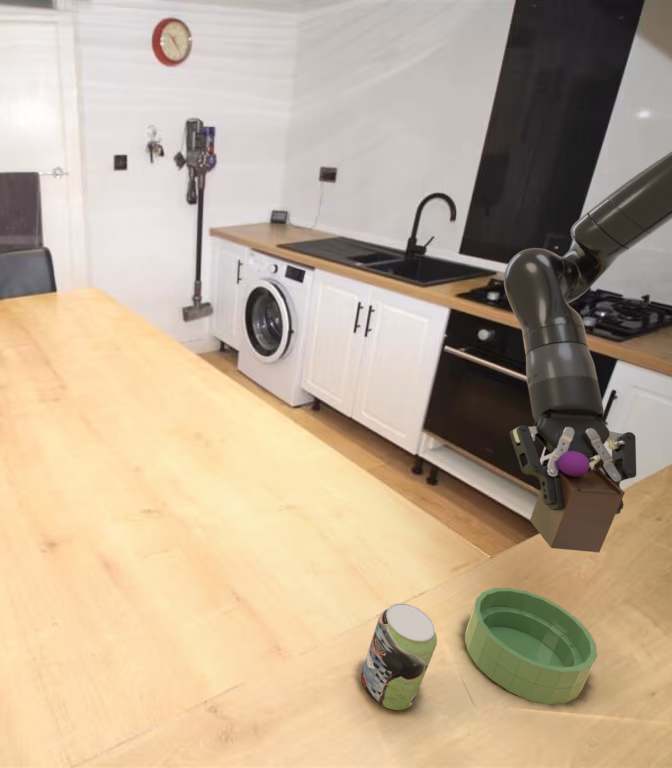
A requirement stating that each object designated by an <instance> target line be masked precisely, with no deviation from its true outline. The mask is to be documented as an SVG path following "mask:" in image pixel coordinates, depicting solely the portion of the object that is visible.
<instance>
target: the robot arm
mask: <svg viewBox="0 0 672 768" xmlns="http://www.w3.org/2000/svg"><path fill="white" fill-rule="evenodd" d="M671 220H672V151H670V152H669V153H667V154H666V155H665V156H663V157H661V158H660V159H658V160H656V161H655V162H653V163H652V164H651V165H649V166H647V167H645V169H643V170H642V171H640V172H638V174H636V175H634V176H633V177H632V178H630V179H629V180H627V181H626V182H624V183H623V184H622V185H621V186H619V187H617V189H615V190H614V191H613V192H611V193H610V194H609V195H607V196H606V197H605V198H604V199H602V200H601V201H600V202H599V203H597V204H595V206H593V207H592V208H591V209H589V210H588V212H586V213H585V214H583V215H582V216H581V217H580V218H578V220H577V221H575V222H574V223H573V225H572V226H571V228H570V236H571V239H572V240H573V242H574V244H573V245H572V246H571V248H570V249H569V250H568V251H567V252H566V253H565V254H563V256H560V255H559V254H557V253H555V252H553V251H550V250H548V249H546V248H541V247H529V248H525V249H523V250H521V251H519V252H518V253H516V254H515V255H514V256H512V258H511V259H510V260H509V262H508V263H507V266H506V267H505V271H504V275H503V287H504V291H505V295H506V297H507V300H508V302H509V306H510V307H511V310H512V312H513V314H514V317H515V319H516V321H517V322H518V324H519V327H520V328H521V332H522V342H523V347H524V353H525V362H526V363H525V376H526V384H527V389H528V395H529V403H530V408H531V415H532V419H533V420H534V424H533V426H528V425H526V424H521V425H519V426H517V427H515V428H514V429H512V430H510V432H509V436H510V440H511V442H512V445H513V449H514V452H515V455H516V458H517V461H518V464H519V467H520V470H521V472H522V473H523V474H524V475H531V476H534V477H536V478H537V479H538V480H539V484H540V490H541V491H542V498H543V502H544V503H545V505H548V508H549V510H560V509H563V508H564V500H563V494H562V488H561V482H560V478H556V476H557V475H558V472H559V469H560V468H559V466H558V460H559V458H560V457H561V455H562V454H563V453H565V452H568V451H576V452H580V453H582V454H583V455H585V456H586V457H587V459H588V460H589V463H590V467H591V468H592V469H591V470H593V468H594V467H597V468H598V469H599V470H601V471H602V472H603V473H604V474H605V475H606V476H607V477H608V478H609V479H611V480H612V481H613V482H614V483H615V484H616V485H617V486H618V487H619V488H621V486H620V485H621V482H622V481H626V480H630V479H633V478H636V476H637V441H636V439H637V438H636V435H635V434H634V433H633V432H631V431H627V432H625V433H620V432H615V431H610V430H609V428H608V427H607V425H606V424H605V422H604V413H605V412H604V411H605V409H604V405H603V400H602V395H601V391H600V384H599V380H598V376H597V371H596V366H595V365H596V364H595V362H594V359H593V357H592V355H591V351H590V348H589V344H588V343H589V342H588V338H587V333H586V327H585V324H584V321H583V318H582V317H581V314H580V313H578V311H577V310H575V309H574V308H573V307H572V306H571V305H569V304H570V303H572V302H574V301H576V300H577V299H579V298H580V297H581V296H583V295H584V294H585V293H586V292H588V291H589V289H590V288H591V287H592V286H593V285H594V284H595V283H596V282H597V281H598V279H600V278H601V277H602V276H603V275H604V273H606V272H607V270H609V268H610V267H611V266H612V265H613V264H614V262H615V261H616V260H617V259H618V258H619V257H620V256H621V255H623V254H624V253H626V252H627V251H629V250H630V249H632V248H633V247H635V246H636V245H637V244H639V243H640V242H642V241H643V240H645V239H646V238H647V237H649V236H651V235H652V234H653V233H654V232H656V231H657V230H659V229H660V228H662V227H663V226H665V225H667V223H669V222H670V221H671ZM536 439H537V440H538V441H539V442H540V444H542V446H543V450H542V453H541V456H540V457H539V453H538V451H537V447H536V445H535V441H536ZM606 442H607V443H608V446H607V448H608V449H609V450H611V454H610V452H609V451H608V449H607V448H606V446H605V443H606ZM594 457H596V458H597V459H596V458H594ZM623 509H624V501H623V499H622V500H621V503H620V505H619V507H618V510H617V512H616V514H615V515H619V514H620V513H621V511H622V510H623Z"/></svg>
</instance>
